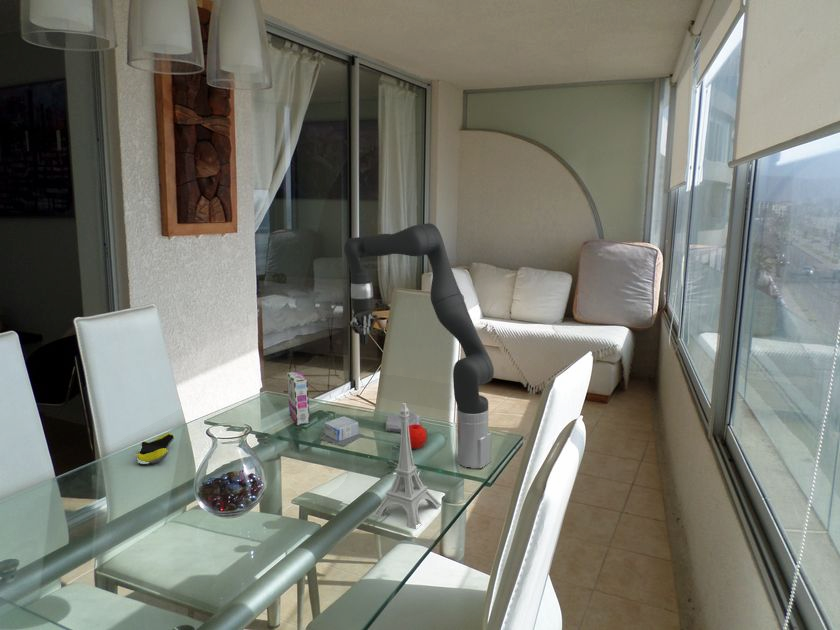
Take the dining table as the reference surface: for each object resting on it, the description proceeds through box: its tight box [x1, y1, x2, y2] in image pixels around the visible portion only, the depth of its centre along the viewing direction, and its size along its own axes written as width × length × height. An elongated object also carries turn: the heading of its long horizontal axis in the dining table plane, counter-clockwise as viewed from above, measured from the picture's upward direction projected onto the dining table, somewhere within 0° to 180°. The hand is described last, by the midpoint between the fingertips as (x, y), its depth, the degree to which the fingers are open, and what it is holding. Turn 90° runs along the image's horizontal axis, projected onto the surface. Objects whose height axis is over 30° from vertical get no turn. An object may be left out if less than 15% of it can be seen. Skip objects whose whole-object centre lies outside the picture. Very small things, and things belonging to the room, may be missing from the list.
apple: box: [409, 424, 428, 450], centre depth 208 cm, size 8×8×7 cm
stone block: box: [385, 412, 421, 434], centre depth 223 cm, size 12×5×10 cm
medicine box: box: [323, 415, 360, 441], centre depth 218 cm, size 8×4×9 cm
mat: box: [320, 433, 364, 447], centre depth 217 cm, size 10×10×1 cm
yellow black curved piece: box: [134, 432, 175, 464], centre depth 205 cm, size 15×6×10 cm
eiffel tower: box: [371, 402, 443, 530], centre depth 168 cm, size 13×13×30 cm
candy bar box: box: [286, 370, 311, 426], centre depth 231 cm, size 11×5×16 cm, turn 25°
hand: (364, 344), depth 227 cm, fingers closed
